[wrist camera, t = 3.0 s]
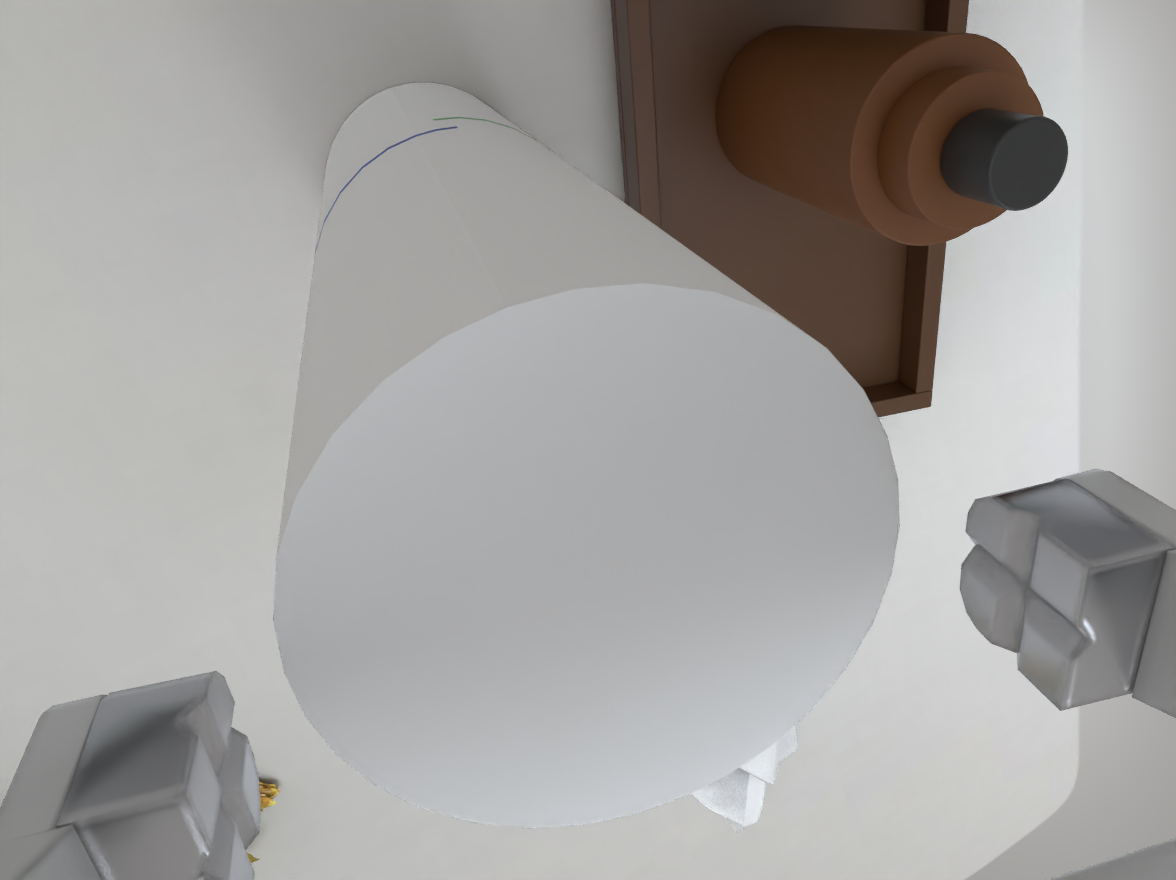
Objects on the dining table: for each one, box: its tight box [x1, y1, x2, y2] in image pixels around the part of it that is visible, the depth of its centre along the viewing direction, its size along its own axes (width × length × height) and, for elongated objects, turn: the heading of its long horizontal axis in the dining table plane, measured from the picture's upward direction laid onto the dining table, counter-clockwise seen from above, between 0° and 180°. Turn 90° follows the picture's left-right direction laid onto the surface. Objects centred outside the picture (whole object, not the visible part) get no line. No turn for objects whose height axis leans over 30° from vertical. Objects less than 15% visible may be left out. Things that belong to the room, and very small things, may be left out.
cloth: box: [691, 725, 797, 833], centre depth 43 cm, size 26×14×2 cm, turn 177°
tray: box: [611, 0, 969, 417], centre depth 33 cm, size 25×13×2 cm, turn 5°
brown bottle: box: [716, 25, 1068, 246], centre depth 27 cm, size 6×6×14 cm
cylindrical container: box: [273, 82, 900, 828], centre depth 21 cm, size 7×7×25 cm
